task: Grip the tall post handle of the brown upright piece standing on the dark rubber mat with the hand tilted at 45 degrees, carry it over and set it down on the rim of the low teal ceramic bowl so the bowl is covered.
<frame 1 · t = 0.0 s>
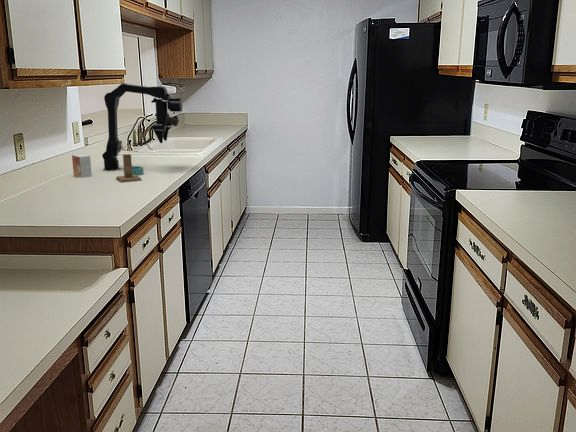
hand: (163, 141, 286), 15 cm above the worktop, tool pointing down, fingers open, 9 cm apart
mat: (128, 180, 263), on the worktop
brown upright piece: (128, 179, 263), resting on mat
bowl: (134, 174, 276), on the worktop
small box: (82, 176, 272), on the worktop
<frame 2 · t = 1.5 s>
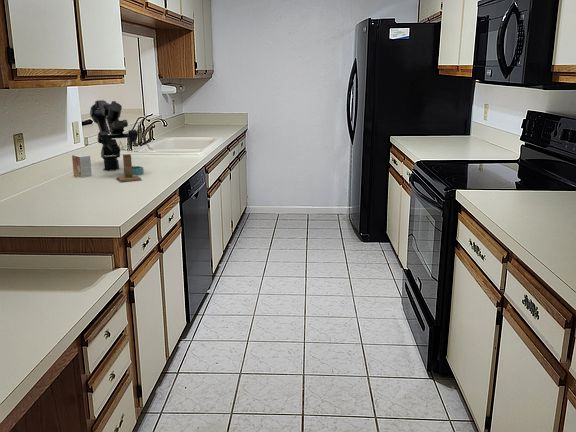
hand: (122, 150, 266), 13 cm above the worktop, tool tilted 45°, fingers open, 9 cm apart
nothing on the worktop moved.
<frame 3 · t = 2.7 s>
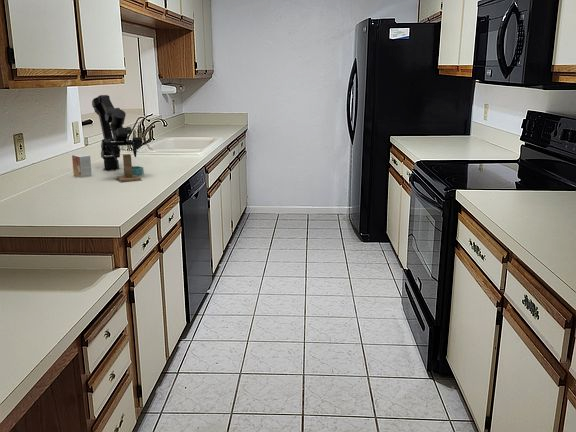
hand: (126, 157, 262), 11 cm above the worktop, tool tilted 45°, fingers open, 9 cm apart
nothing on the worktop moved.
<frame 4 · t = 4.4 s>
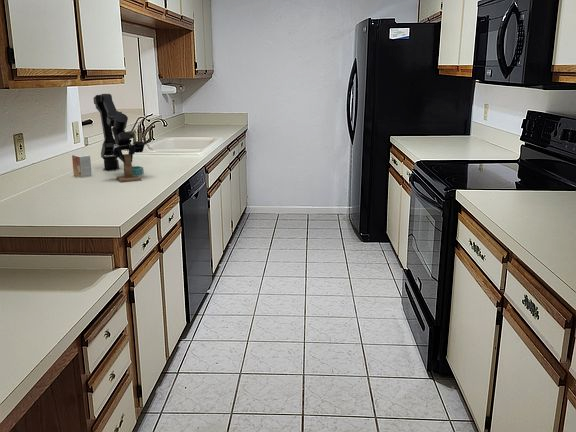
hand: (128, 162, 259), 9 cm above the worktop, tool tilted 45°, fingers closed on brown upright piece, 3 cm apart
brown upright piece: (128, 179, 263), resting on mat, touching gripper
everything else where it was.
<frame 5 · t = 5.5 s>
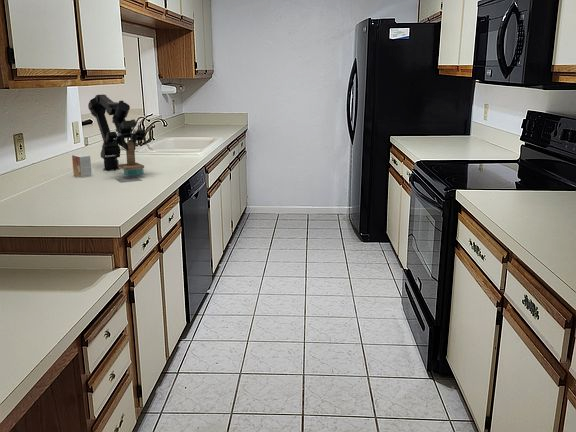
hand: (131, 150, 264), 14 cm above the worktop, tool tilted 45°, fingers closed on brown upright piece, 3 cm apart
brown upright piece: (131, 167, 268), point 5 cm above the worktop, touching gripper
everything else where it was.
when the fingers open (13 cm above the worktop, at t = 6.7 s): brown upright piece stays where it is, resting on bowl.
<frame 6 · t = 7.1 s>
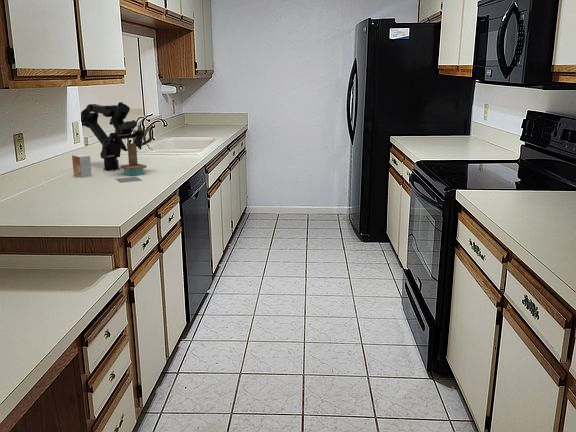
hand: (133, 149, 272), 13 cm above the worktop, tool tilted 45°, fingers open, 8 cm apart
brown upright piece: (133, 167, 276), point 3 cm above the worktop, touching bowl
everything else where it was.
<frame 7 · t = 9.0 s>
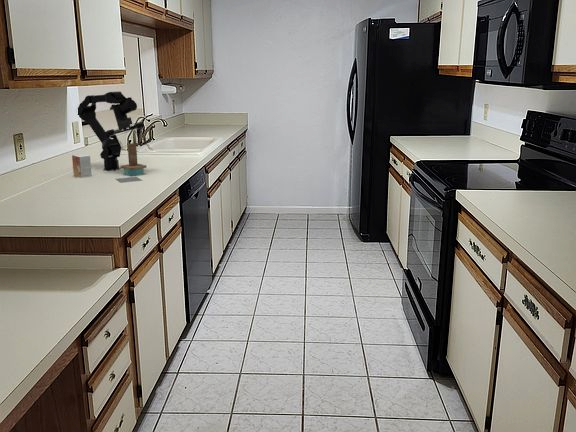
hand: (130, 146, 279), 13 cm above the worktop, tool tilted 20°, fingers open, 9 cm apart
nothing on the worktop moved.
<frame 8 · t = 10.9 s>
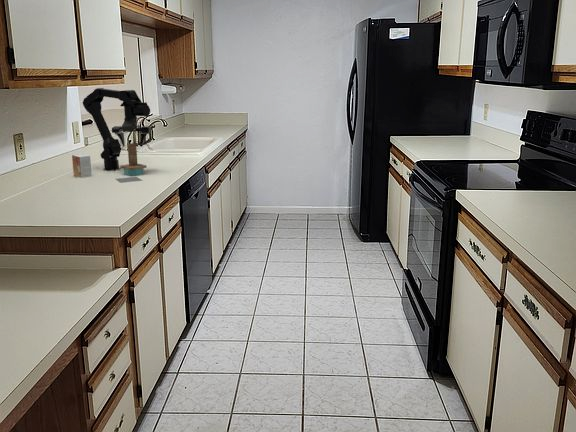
hand: (132, 146, 281), 13 cm above the worktop, tool pointing down, fingers open, 9 cm apart
nothing on the worktop moved.
at the end: brown upright piece 0.0 cm off-centre on the bowl, point 3.5 cm above the bowl's base; brown upright piece tilted 0°; the gripper is holding nothing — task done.
